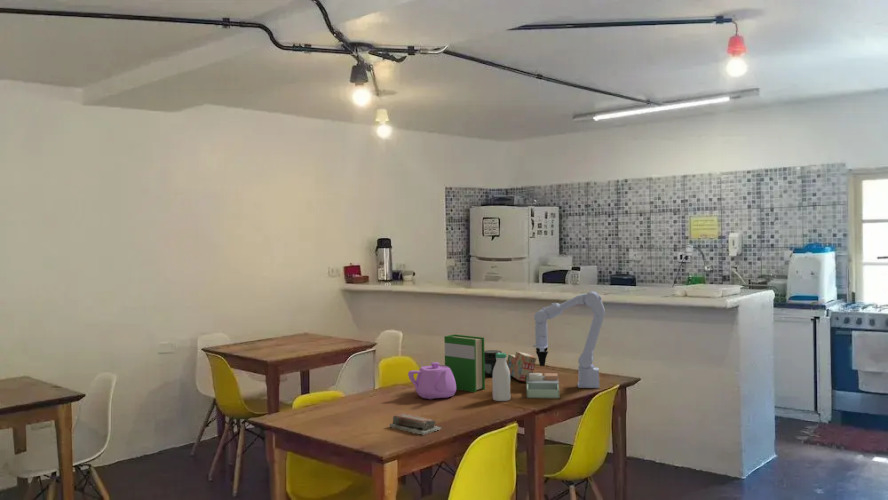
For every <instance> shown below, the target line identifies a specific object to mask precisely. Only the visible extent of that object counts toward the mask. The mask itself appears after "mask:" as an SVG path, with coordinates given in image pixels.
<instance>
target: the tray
mask: <svg viewBox="0 0 888 500" xmlns="http://www.w3.org/2000/svg"><path fill="white" fill-rule="evenodd" d="M526 398H527V399H560V384H559V385H558V384H557V390H532V389H528V384H527V386H526Z"/></svg>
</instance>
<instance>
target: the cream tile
mask: <svg viewBox="0 0 888 500" xmlns="http://www.w3.org/2000/svg"><path fill="white" fill-rule="evenodd" d="M542 376H543V373H542V372H533V373H529V380H542Z"/></svg>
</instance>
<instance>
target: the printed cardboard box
mask: <svg viewBox="0 0 888 500" xmlns="http://www.w3.org/2000/svg"><path fill="white" fill-rule="evenodd" d="M536 362H537V357H535V356H534V355H532V354H529V353H527V352H522V351H515V355H514V354H510V353H508V355H507V360H506V363H507V365H508V368H509V370H510V377H513V378H515V379H516V380H517V381H520V382H524V383H526V382H527V376H529V373H534V370H535V367H536Z"/></svg>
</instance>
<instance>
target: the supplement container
mask: <svg viewBox="0 0 888 500" xmlns="http://www.w3.org/2000/svg"><path fill="white" fill-rule="evenodd" d="M496 353H503V352H502V351H501V350H498V349H487V350H484V359H485V377H488V378H491V377H492V378H493V369H494V366H495V364H496Z"/></svg>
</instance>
